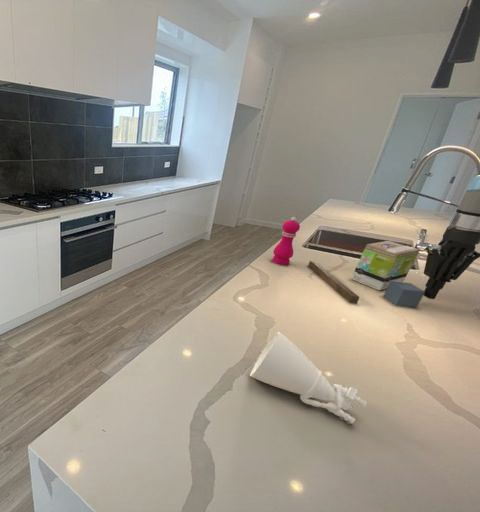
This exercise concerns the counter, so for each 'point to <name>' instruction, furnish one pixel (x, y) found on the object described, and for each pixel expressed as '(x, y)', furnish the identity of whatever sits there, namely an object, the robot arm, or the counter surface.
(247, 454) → the counter surface
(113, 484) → the counter surface
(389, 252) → the tea box
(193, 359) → the counter surface
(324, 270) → the brown wooden stick
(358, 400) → the rocket engine
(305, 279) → the counter surface
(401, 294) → the blue block
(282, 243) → the pepper mill
